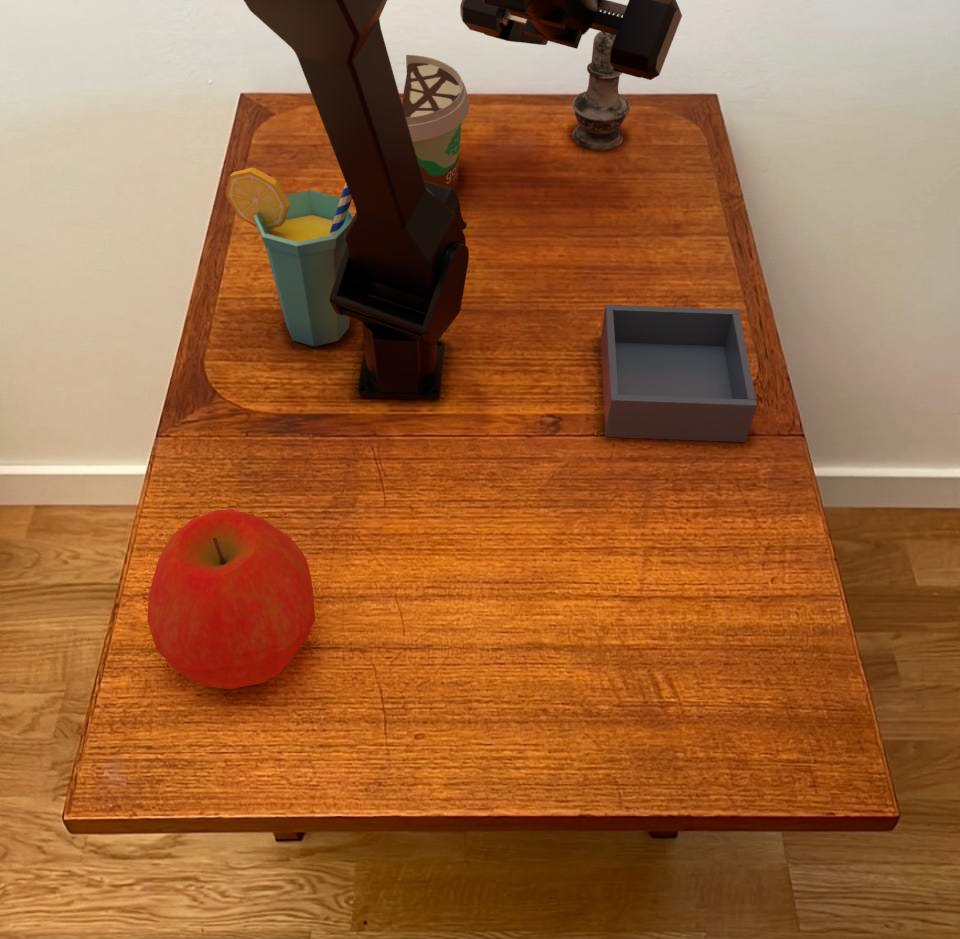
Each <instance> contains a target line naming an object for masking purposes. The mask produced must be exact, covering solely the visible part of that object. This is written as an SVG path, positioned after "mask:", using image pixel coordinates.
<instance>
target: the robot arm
mask: <svg viewBox="0 0 960 939" xmlns="http://www.w3.org/2000/svg"><path fill="white" fill-rule="evenodd" d="M243 2H244V4H245V6H247V8H248V10H249V11H250V12H251V13H252V14H253V15H254V16H255V17H256V18H257V19H258V20H260V21H261V22H262V23H263V24H264V25H265V26H267V28H269V29H270V30H271V31H272V32H273V33H274V34H276V35H277V37H279V38H280V39H281V40H282V41H283V42H284V43H286V45H288V46H289V47H290V49H292V50H293V52H294V53H295V56H296V58H297V60H298V63H299V65H300V67H301V70H302V72H303V75H304V78H305V80H306V83H307V85H308V89H309V91H310V93H311V96H312V98H313V101H314V103H315V106H316V109H317V112H318V114H319V116H320V120H321V122H322V124H323V128H324V130H325V133H326V135H327V137H328V140H329V142H330V145H331V147H332V151H333V153H334V156H335V158H336V160H337V163H338V165H339V169H340V171H341V174H342V176H343V179H344V181H345V183H346V184H347V187H348V189H349V192H350V194H351V197H352V200H351V201H352V203H353V204H354V208H355V214H353V219H352V221H351V223H350V225H349V227H348V228H347V230H346V232H345V240H346V244H347V245H346V248H345V251H344V254H343V257H342V261H341V264H340V267H339V270H338V273H337V276H336V279H335V283H334V286H333V289H332V292H331V295H330V303H331V305H332V307H333V309H334V311H335V313H336V314H339V315H342V316H343V315H346V316H348V317H350V319H351V318H352V319H354V320H357V321H360V322H361V328H362V336H363V338H362V339H363V346H364V347H363V348H364V352H363V358H362V364H361V370H360V375H359V381H358V386H357V387H358V388H357V394H358V396H359V398H366V399H387V400H388V399H389V400H390V399H391V400H393V399H394V400H415V401H416V400H417V401H418V400H419V401H437V400H439V399H440V398H441V394H442V382H443V372H444V361H445V350H446V344H445V341H442V340H440V339H441V337H442V336H443V335H444V333H446V331H447V330H448V328H449V327H450V326H451V325H452V323H453V322H454V321H455V320H456V318H457V317H458V315H459V314H460V313H461V311H462V310H461V309H462V305H463V304H462V303H463V297H464V292H465V291H464V290H465V285H466V279H467V272H468V268H469V267H468V266H469V260H470V250H469V247H468V246H467V242H466V236H465V233H464V230H465V229H466V228H467V225H468V224H467V222H466V221H464V219H463V216H462V211H461V210H462V209H461V200H460V198H459V195H458V194H457V193H456V190H455V189H454V190H453V189H450V188H447V187H443V186H440V185H437V184H433V183H430V182H427V181H423V178H422V174H421V171H420V167H419V164H418V160H417V156H416V153H415V149H414V146H413V142H412V139H411V135H410V131H409V128H408V124H407V121H406V117H405V113H404V110H403V106H402V103H403V102H402V99H401V95H400V92H399V89H398V85H397V82H396V78H395V74H394V71H393V67H392V63H391V59H390V56H389V53H388V49H387V46H386V42H385V38H384V34H383V31H382V27H381V21H380V20H381V19H380V18H381V16H382V13H383V12H384V8H385V7H386V4H387V2H388V0H243ZM459 6H460V7H459V8H460V10H459V11H460V12H459V13H460V17H461V21H462V23H463V24H464V25H465V26H466V27H467V28H468V29H469V30H470V31H473V32H477V33H480V34H483V35H485V36H488V37H492V38H496V39H498V40H503V41H506V42H513V43H523V44H530V45H538V46H539V45H540V46H546V45H548V42H550V43H553V44H558V45H562V46H565V47H569V48H572V49H577V50H578V47H579V45H580V42H581V39H582V37H583V36H584V35H586V33H588V32H589V30H590V29H591V30H595V31H598V32H601V31H602V32H606V33H610V34H614V35H616V37H615V39H614V42H613V45H612V47H611V57H610V63H611V65H612V67H614V68H613V70H614V71H617V72H620V73H622V74H625V75H628V76H631V77H634V78H640V79H641V78H642V79H645V80H649V81H651V80H653V79H655V78H657V77H659V76H660V74H661V72H662V70H663V67H664V64H665V62H666V59H667V57H668V54H669V51H670V48H671V46H672V43H673V41H674V38H675V35H676V33H677V30H678V27H679V25H680V22H681V21H682V17H683V14H682V12H681V9H680V6H679V4H678V2H677V0H628V1H627V4H623V3H619V2H616V1H611V0H461V2H460V5H459Z"/></svg>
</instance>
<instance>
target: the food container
mask: <svg viewBox="0 0 960 939" xmlns="http://www.w3.org/2000/svg"><path fill="white" fill-rule="evenodd" d="M405 63H406V75H405V81H404V83H405V84H404V86H403V87H404V88H403V94H402V95H403V96H402V102H401V103H402V106H403V110H404V113H405V117H406V121H407V124H408V128H409V131H410V135H411V139H412V142H413V146H414V149H415V153H416V156H417V160H418V164H419V167H420V171H421V174H422V178H423V181H427V182H430V183H433V184H437V185H440V186H443V187H447V188H450V189H453V190H454V191H455V189H456V188H457V186H458V181H459V180H458V178H459V164H460V150H461V136H462V135H461V134H462V123H463V122H464V120H465V119H466V118H467V116H468V114H469V112H470V101H469V95H468V92H467V88H466V85H465V83H464V81H463V80H462V76H461V75H460V73H459V72H458V71H457V69H456V70H455V68H454V67H452V66H450V65H449V64H448V63H446V62H443V61H441V60H439V59H435V58H432V57H428V56H424V55H418V54H417V55H415V54H406V55H405Z"/></svg>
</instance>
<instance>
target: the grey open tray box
mask: <svg viewBox="0 0 960 939" xmlns="http://www.w3.org/2000/svg"><path fill="white" fill-rule="evenodd" d="M599 345H600V361H601V381H602V382H601V383H602V399H603V400H602V401H603V420H604V437H605V438H620V439H621V438H623V439H645V440H646V439H648V440H649V439H650V440H672V441H673V440H675V441H677V440H678V441H703V442H726V443H727V442H728V443H746V441H747V438H748V436H749V433H750V429H751V426H752V422H753V421H754V416H755V413H756V410H757V407H758V404H757V403H758V402H757V398H756V393H755V392H756V391H755V387H754V383H753V376H752V371H751V367H750V361H749V356H748V351H747V345H746V340H745V335H744V329H743V324H742V319H741V314H740V309H735V308H711V307H710V308H708V307H680V306H679V307H678V306H677V307H675V306H653V305H652V306H647V305H624V304H623V305H620V304H619V305H618V304H605V306H604V313H603V320H602V327H601V336H600V344H599Z"/></svg>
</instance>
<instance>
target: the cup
mask: <svg viewBox="0 0 960 939" xmlns="http://www.w3.org/2000/svg"><path fill="white" fill-rule="evenodd" d="M225 197H226V199H227V201H228V202H229V204H230V206H231V207H232V209H233V211H234V213H235V214H236V215H237V218H239V219H241V220H243V221H244V222H246V223H248V224H250V225H251V226H253V227H255V228H257V231H258V233H259V235H260V237H261V240H262V242H263V244H264V247H265V251H266V254H267V258H268V261H269V265H270V269H271V273H272V277H273V280H274V284H275V288H276V291H277V295H278V299H279V303H280V307H281V311H282V314H283V318H284V322H285V325H286V328H287V331H288V333H289V335H290V338H291V340H292V341H294V342H298V343H301V344H304V345H308V346H311V347H317V346H323V345H327V344H331V343H335V342H338V341H339V340H340V339H341V338H342V337H343V335H344V334H346V332H347V331H348V330H349V329H350V327H351V326H350V324H351V317H348V316H346V315H343V316H342V315H339V314H336V313H335V311H334V309H333V307H332V305H331V303H330V295H331V292H332V289H333V286H334V283H335V279H336V276H337V273H338V270H339V267H340V264H341V261H342V257H343V254H344V251H345V248H346V245H347V244H346V240H345V232H346V230H347V228H348V227H349V225H350V223H351V221H352V219H353V217H354V214H353V213H352V211H351V209H350V206H351V203H352V201H353V200H352V197H351V194H350V192H349V189H348V187H347V184H346V182H344V186H343V189H342V193H341V195H340V197H339V196H336V195H331V194H327V193H323V192H319V191H316V190H311V189H308V190H303V191H297V192H293V193H288V194H286V193H285V192H284V190H283V188H282V186H281V184H280V182H279V181H278V180H277V179H275V178H273V177H271V176H270V175H268V174H266V173H265V172H264V171H263V172H262V171H261V170H259V169H257V168H255V167H249V168H245V169H241V170H235V171H233V172H232V173H231V174H230V175H229V177H228V182H227V186H226V191H225Z"/></svg>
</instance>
